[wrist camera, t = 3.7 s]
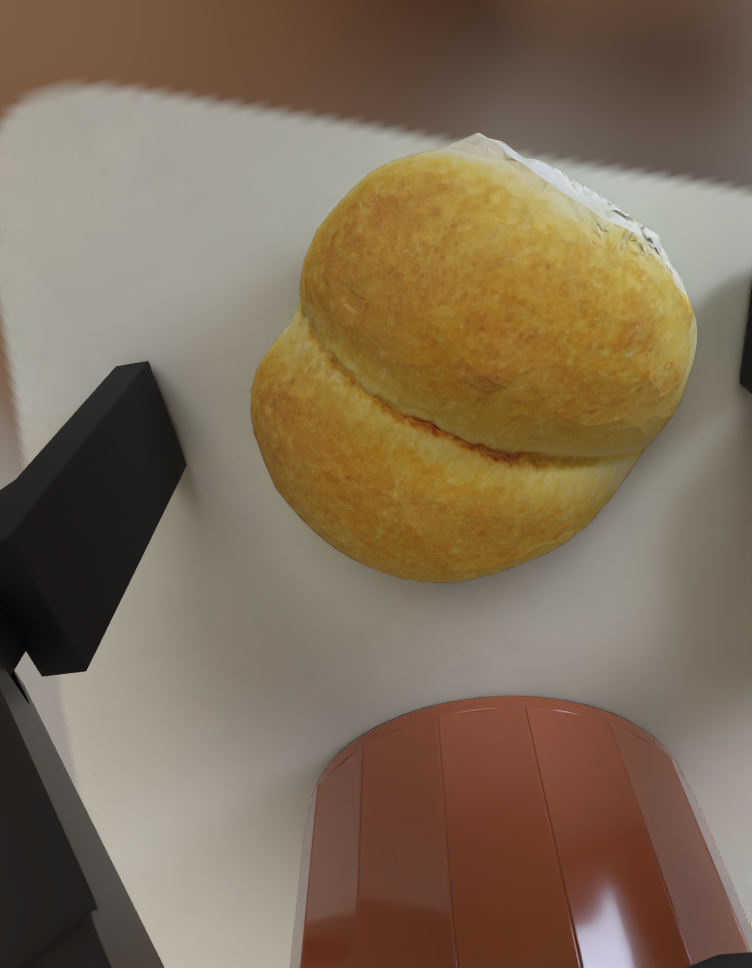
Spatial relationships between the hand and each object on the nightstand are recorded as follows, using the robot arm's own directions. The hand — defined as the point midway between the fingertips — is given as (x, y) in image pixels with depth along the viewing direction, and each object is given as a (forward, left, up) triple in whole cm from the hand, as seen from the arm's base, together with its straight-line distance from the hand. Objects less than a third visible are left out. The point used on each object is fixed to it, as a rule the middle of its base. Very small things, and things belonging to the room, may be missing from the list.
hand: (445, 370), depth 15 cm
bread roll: (0, 0, 0) cm, 0 cm away
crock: (+18, 0, 0) cm, 18 cm away
